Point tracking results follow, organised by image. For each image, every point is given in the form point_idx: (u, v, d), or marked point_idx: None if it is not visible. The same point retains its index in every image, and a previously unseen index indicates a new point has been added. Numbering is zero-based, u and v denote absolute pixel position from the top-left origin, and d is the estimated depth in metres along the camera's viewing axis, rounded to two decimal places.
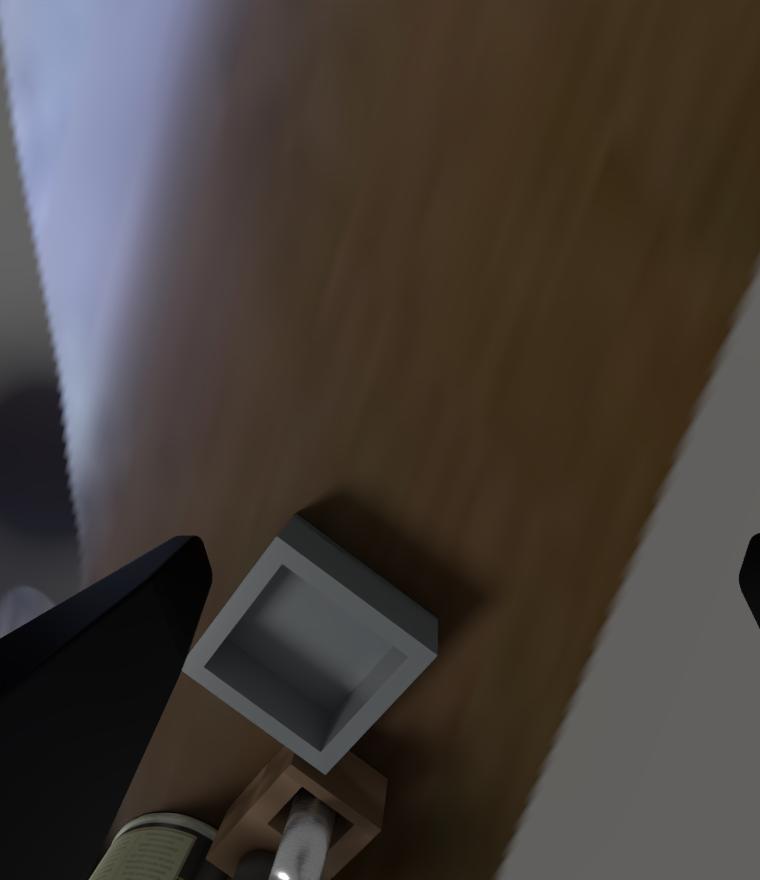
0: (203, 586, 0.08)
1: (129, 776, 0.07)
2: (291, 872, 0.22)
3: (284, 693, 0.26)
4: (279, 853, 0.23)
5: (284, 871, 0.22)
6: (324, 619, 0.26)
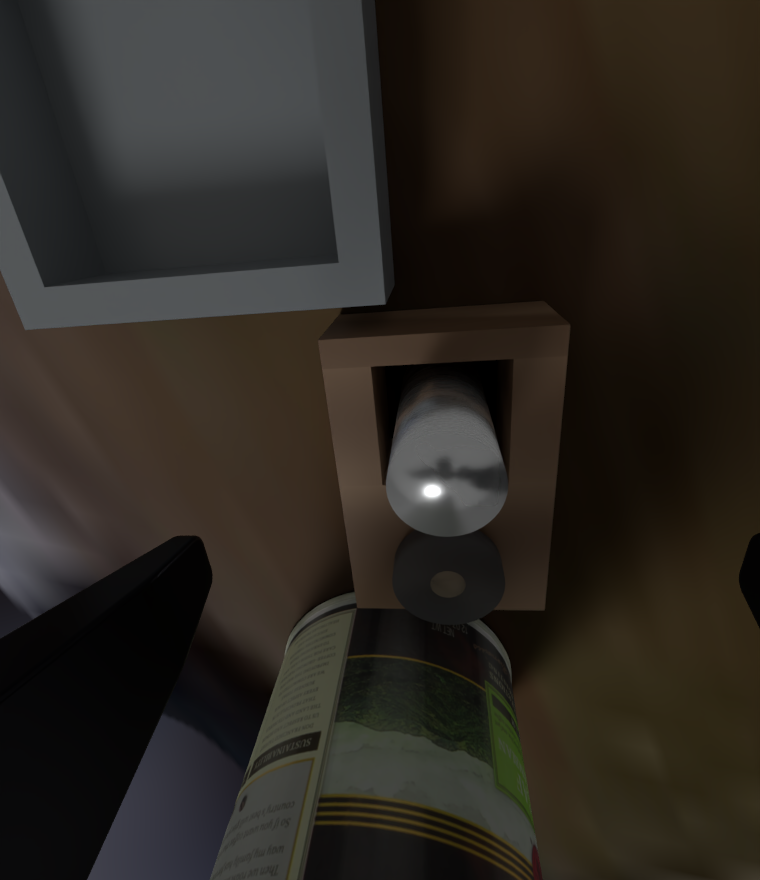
0: (203, 586, 0.08)
1: (129, 776, 0.07)
2: (415, 460, 0.10)
3: (240, 264, 0.13)
4: None
5: (404, 470, 0.10)
6: (181, 59, 0.11)
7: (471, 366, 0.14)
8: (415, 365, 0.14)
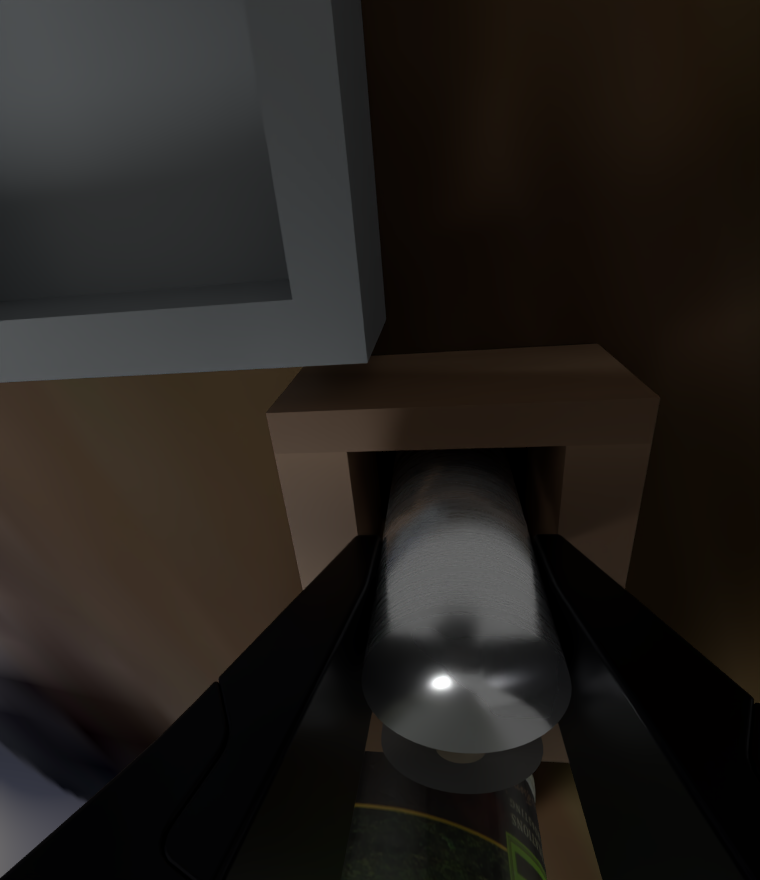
0: None
1: (356, 792, 0.06)
2: (411, 650, 0.05)
3: (160, 294, 0.09)
4: None
5: (392, 663, 0.06)
6: None
7: None
8: None
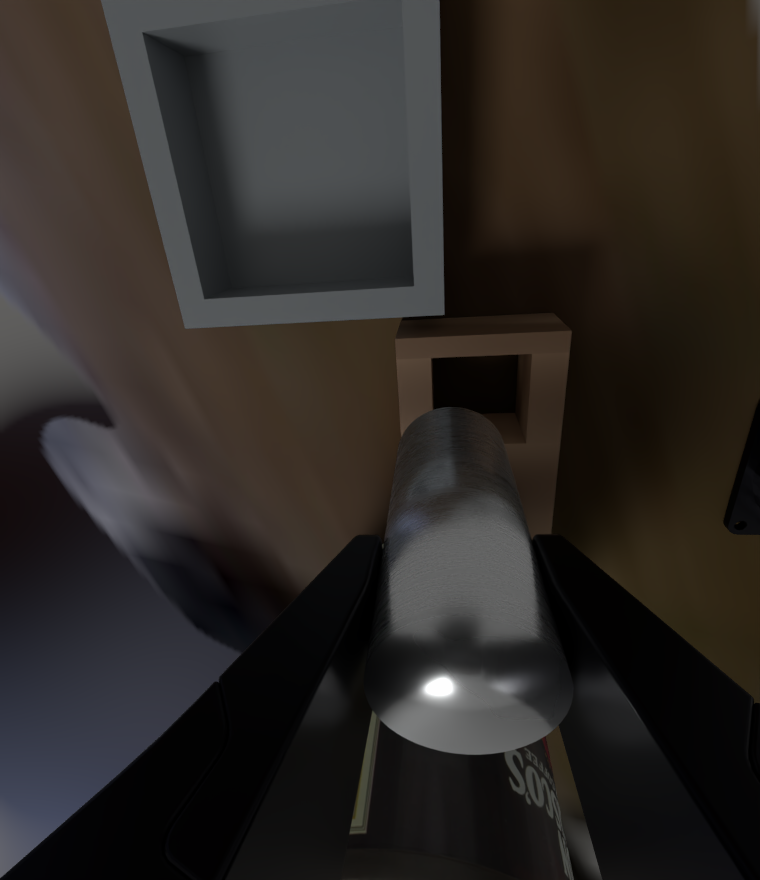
0: None
1: (356, 792, 0.06)
2: (413, 651, 0.05)
3: (336, 284, 0.18)
4: None
5: (393, 664, 0.06)
6: (304, 143, 0.17)
7: (494, 434, 0.10)
8: (415, 432, 0.10)
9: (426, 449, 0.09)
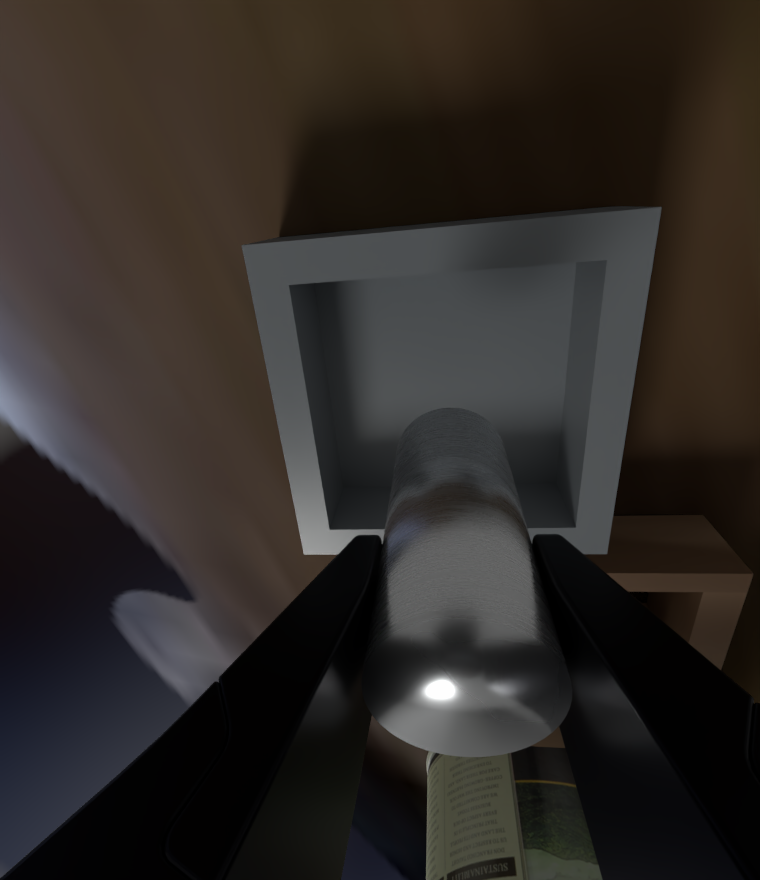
0: None
1: (356, 792, 0.06)
2: (411, 654, 0.05)
3: None
4: None
5: (392, 667, 0.06)
6: (442, 357, 0.15)
7: (493, 435, 0.10)
8: (414, 433, 0.10)
9: (425, 450, 0.09)
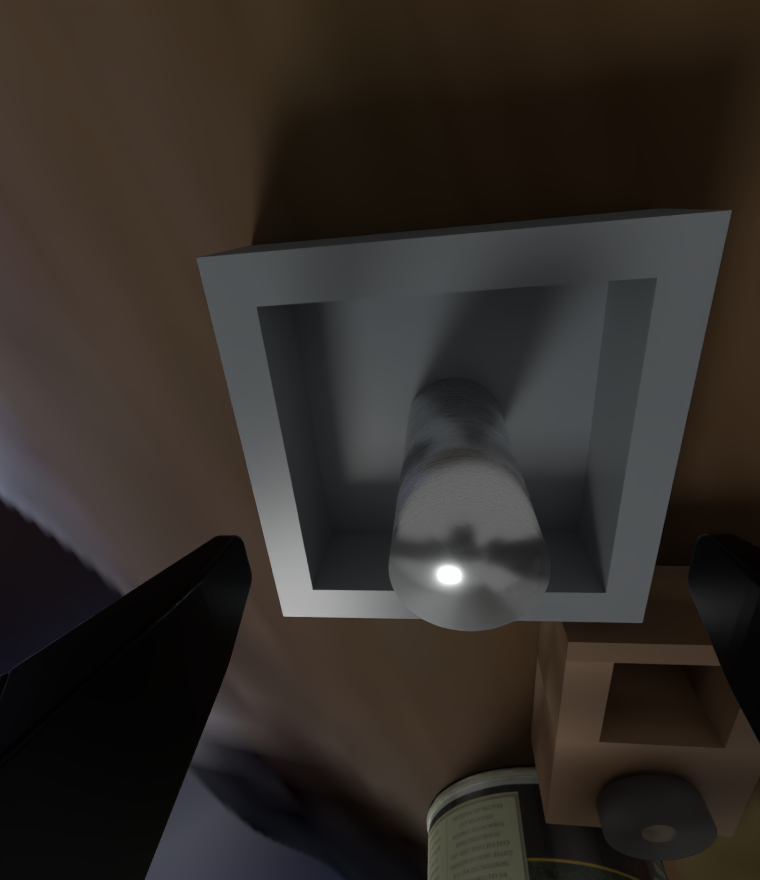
0: (244, 586, 0.08)
1: (180, 779, 0.06)
2: (428, 537, 0.07)
3: None
4: None
5: (412, 549, 0.07)
6: None
7: (491, 399, 0.12)
8: (424, 397, 0.12)
9: (434, 407, 0.11)
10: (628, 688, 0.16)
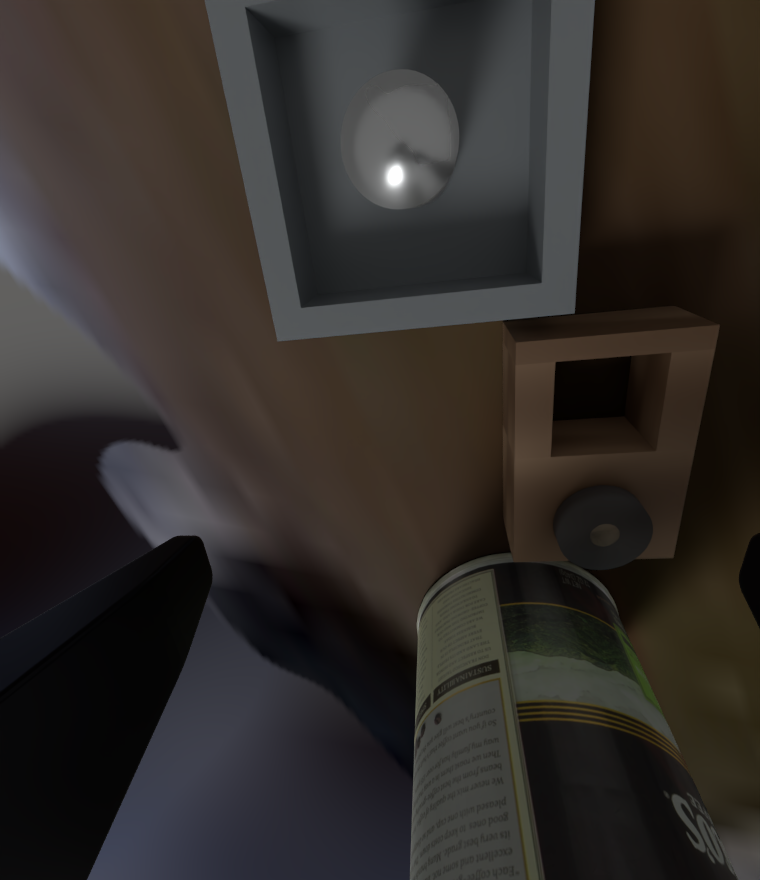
0: (203, 586, 0.08)
1: (129, 776, 0.07)
2: (366, 109, 0.10)
3: (439, 284, 0.16)
4: None
5: (356, 124, 0.10)
6: None
7: None
8: None
9: None
10: (579, 432, 0.18)
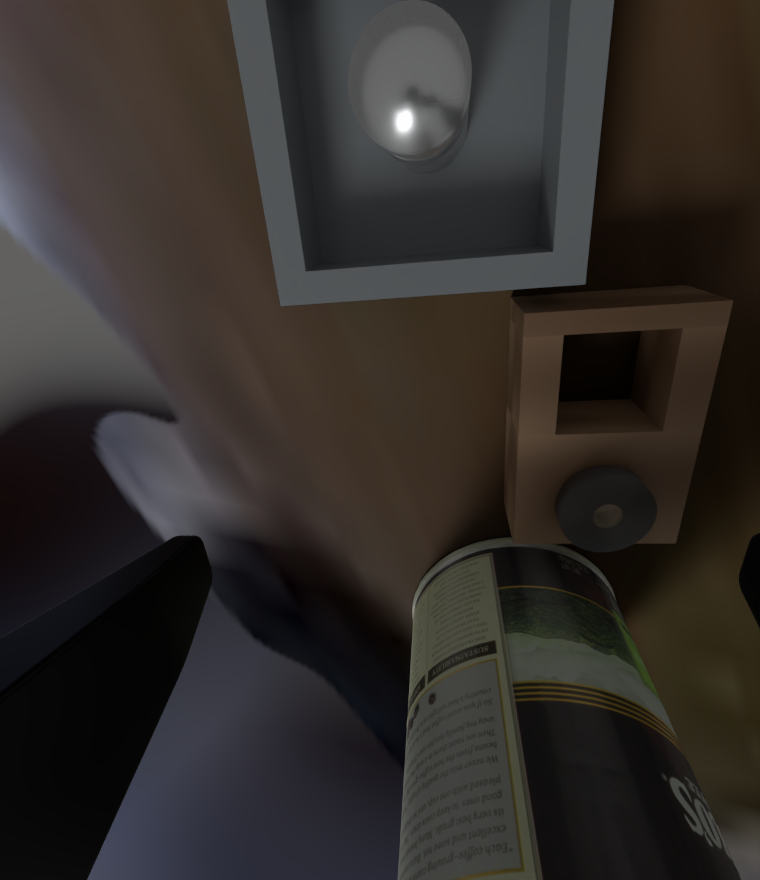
0: (203, 586, 0.08)
1: (129, 776, 0.07)
2: (374, 45, 0.09)
3: (447, 254, 0.16)
4: None
5: (364, 62, 0.09)
6: None
7: None
8: None
9: None
10: (584, 412, 0.18)
